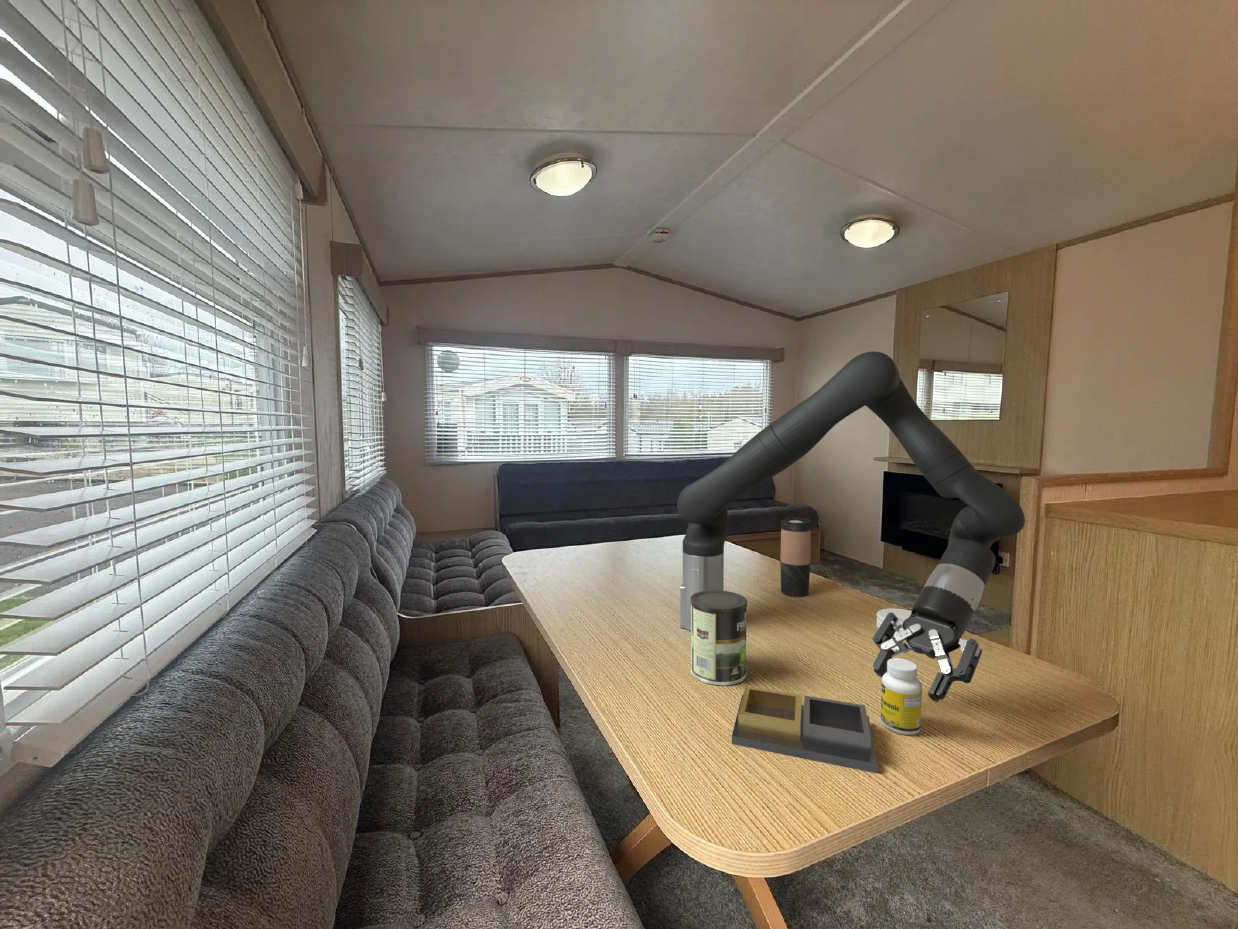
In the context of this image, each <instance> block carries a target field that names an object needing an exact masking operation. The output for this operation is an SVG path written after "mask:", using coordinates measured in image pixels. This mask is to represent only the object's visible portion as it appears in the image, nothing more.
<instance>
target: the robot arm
mask: <svg viewBox="0 0 1238 929" xmlns="http://www.w3.org/2000/svg"><path fill="white" fill-rule="evenodd" d="M863 407H867V408H868V410H870V411H871V412H872V413H874V414H875V415H876V416H877V417H878V418H879V419H880V420H881V421H882V422H883V424H885V426H887V428H888V429H889V430H890V431H891V432H892V433H893V435H894V437H895V438H896V439H897V441H898V442H899V444H900V445H901V447H902V448H903V450H904V451H905V452H906V454H907V455H908V456H909V458H910V460H911V461H912V462H913V464H914V465H915V466H916V467H917V469H918V470H919V471H920V473H921V474H922V475H923V477H924V478H925V479H926V480H927V482H928V483H929V484H930V485H931V487H933V489H934V490H935V491H936V492H937V494H939V495H940V496H941V497H942V498H944V499H945V498H946V499H953V498H957V499H959V500H960V501H962V502H963V503H964V504H966V507H964V508H963V509H961V510H960V511H959V513H957V515H956V516H955V518H954V520H953V521H952V522H953V523H952V524H951V528H950V533H949V536H948V542H947V548H946V549H945V550H944V552H943V554H942V557H941V558H940V560H939V561H938V563H937V565H936V567H935V568H934V569H933V571H932V572H931V574H930V575H929V576H928V579H927V580H926V583H925V584H924V586H923V588H922V590H921V591H920V594H919V595H918V597H917V599H916V601H915V603H914V605H913V607H912V609H911V611H912V612H911V615H910V617H909V618H907V619H906V620H903V619H901V618H898V617H896V616H895V614H894V613H892V612H890V613H888V614H887V616H886V618H885V619H884V621H883V622H882V624H881V626H880V627H879V629H878V628H877V630H876V631H875V633H874V635H873V637H872V641H873V643H874V644H875V645H876V647H877V648H878V649H879V651H878V654H877V656H876V658H875V659H874V661H873V664H872V668H873V672H874V673H875V674H876V675H877V676H878V677H880V678H882V677H883V675H884V674H885V673H887V672H888V671H887V661H888V660H889V659H892V658H893V657H895V656H897V655H899V654H903V653H904V654H906V653H908V652H911V651H913V652H914V653H917V654H919V655H920V654H921V655H924V656H926V657H928V658H930V659H933V660H935V659H937V662H938V665H939V667H940V670H941V672H937V673H936V675H935V677H934V680H933V682H932V683H931V686H930V687H929V690H928V691H927V695H928V697H929V698H930V700H932V701H933V702H936V703H938V702H939V701H940V700H941V701H943V700H944V699H945V698H946V697H947V694H948V692H949V690H950V689H951V686H952V684H953V683H954V682H962V683H964V684H970V683H971V682H972V681H973V678H974V675H975V672H976V670H977V666H978V664H979V661H980V659H981V656H982V653H983V649H982V648H981V646H980V645H979V642H978V641H977V640H976V639H975V638H970V639H969V638H968V639H964V638H962V636H963V635H964V634H965V632H966V630H967V628H968V626H969V624H970V622H971V619H972V618H973V616H974V614H975V612H976V610H977V609H978V607H979V604H980V601H981V599H982V596H983V592H984V590H985V587H986V585H987V583H988V582H989V579H990V577H991V574H992V573H993V570H994V567H995V564H996V557H995V554H994V553H993V551H992V550H991V546H993V544H994V543H995V542H997V541H1000V540H1004V539H1006V538H1010V537H1013V536H1015V535H1017V534H1018V533H1020V532H1021V531H1022V530H1023V529H1024V527H1025V521H1026V516H1025V513H1024V510H1023V508H1022V507H1021V505H1020V504H1019V502H1018V501H1017V500H1016V499H1015V498H1014V497H1013V496H1012V495H1011V494H1010V493H1008V492H1007V491H1006V490H1004V489H1003V488H1002V487H1001V486H999V485H998V484H996V483H995V482H994V481H992V480H991V479H989V478H988V477H986V476H985V475H983V474H982V473H980V472H979V471H978V470H977V468H975V467H974V465H973V464H972V463H971V462H970V461H969V460H968V458H967V457H966V456H965V455H964V454H963V453H962V452H961V450H960V449H959V448H958V447H957V445H956V444H955V443H954V442H953V441H952V440H951V439H950V438H949V437H948V436H947V435H946V434H945V433H944V432H943V431H942V430H941V429H940V428H939V427H938V426H937V425H936V424H935V423H934V422H933V421H932V420H931V419H930V418H929V417H928V416H927V415H926V414H925V412H924V411H923V410H922V409H921V408H920V407H919V405H918V404H917V403H916V402H915V400H914V398H913V396H911V394H910V392H909V391H908V389H907V387H906V385H905V384H904V382H903V379H902V378H901V375H900V371H899V368H898V365H896V363H895V361H894V359H893V358H892V357H891V356H889V355H888V354H886V353H884V352H881V351H867V352H863V353H860V354H858V355H856V356H854V357H853V358H851V359H850V360H849V361H848V362H847V363H846V364H845V365H844V366H843V367H842V368H841V369H839V370H838V371H837V372H836V373H835V374H834V375H833V376H832V377H831V378H829V380H827V381H826V382H825V383H824V384H823V385H822V386H821V387H820V388H819V389H818V390H816V391H815V392H814V393H813V394H811V395H810V396H809V397H807V398H806V399H804V400H802V401H801V402H799V403H798V404H797V405H794V406H793V407H792V408H790V409H789V410H788V411H786V412H785V413H784V414H782V415H781V416H779V417H778V418H777V419H775V420H774V421H772V422H771V423H769V425H767V426H765V427H764V428H763V429H762V430H760V431H759V432H757V434H755V435H754V436H753V437H751V439H749V440H748V441H747V442H745V444H743V445H742V446H740V448H738V449H737V450H736V451H735V452H734V453H733V454H732V455H731V456H730V457H729V458H728V459H726V460H725V461H724V462H723V463H722V464H721V465H719V466H718V467H716V468H715V469H714V470H712V471H711V472H709V473H707V474H705V475H704V476H702V477H700V478H699V479H697V480H695V481H694V482H692V483H690V484H688V485H686V486H685V487H684V488H683V489H682V490H681V492H680V494H679V495H678V499H677V501H676V502H677V503H676V504H677V505H676V506H677V507H676V508H677V511H678V514H679V516H680V518H682V519H683V520H684V521H685V522H687V530H686V533H685V535H684V537H683V539H682V584H681V585H680V588H679V589H680V590H679V594H680V595H679V596H680V597H679V598H680V599H679V603H680V604H679V605H680V606H679V607H680V608H679V610H680V611H679V612H680V613H679V614H680V615H679V618H680V620H679V628H682V629H686V630H687V631H690V632H691V602H690V597H691V596H692V595H693V594H695V593H697V592H701V591H709V590H721V591H725V590H724V589H725V588H724V586H725V585H724V584H725V583H724V582H725V580H724V579H725V578H724V574H725V567H724V566H725V559H724V558H725V543H726V539H727V533H728V532H727V531H728V505H729V503H731V502H732V501H733V500H734V499H736V498H738V496H740V495H741V494H743V493H745V492H747V491H748V490H751V488H753V487H756V486H758V485H760V484H762V483H764V482H766V481H768V480H769V479H771V478H773V477H774V476H777V475H778V474H780V473H781V472H784V471H785V470H786V469H788V468H789V467H790V466H792V465H793V464H795V463H796V462H798V461H799V460H801V459H802V458H803V457H804V456H805V455H806V454H808V453H809V452H810V451H811V450H812V449H813V448H814V447H816V446H817V444H819V443H820V441H821V440H822V439H823V438H824V437H825V436H826V435H827V434H828V432H830V430H832V429H833V428H834V427H835V426H836V425H837V424H839V423H840V422H841V421H842V420H845V419H846V418H847V417H849V416H850V415H852V414H854V413H855V412H856V411H858V410H860V409H863ZM900 628H903V629H904V631H902V632H900V633H898V634H896V635H894V634H895V632H896V631H899V630H900ZM893 635H894V636H893ZM905 641H906V642H905ZM959 648H960V651H961V653H962V654H961V657H960V658H959V662H958V664H957V666H956V667H954V664H953V662H952V658H951V656H950V653H952V652H954V651H955V650H958V649H959Z"/></svg>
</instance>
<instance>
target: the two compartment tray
mask: <svg viewBox="0 0 1238 929" xmlns="http://www.w3.org/2000/svg"><path fill="white" fill-rule="evenodd" d="M744 686H745V687H744V689H743V694H742V695H741V698H740V702H739V706H738V709H737V714H736V718H735V722H734V725H733V729H732V733H731V744H732V745H736V746H741V747H747V748H753V749H755V750H756V749H757V750H761V751H762V750H763V751H765V752H771V753H778V754H783V755H786V756H791V757H796V758H800V759H801V758H802V759H806V760H811V761H817V762H821V763H827V764H831V765H835V766H841V767H846V768H850V769H855V770H861V771H865V772H871V773H877V774H878V771H879V770H878V769H879V764H878V757H877V752H876V749H875V742H874V737H873V732H872V727H871V722H870V721H871V720H870V717H869V715H868V713H867V709H866V705H865V704H861V703H860V704H859V703H854V702H853V703H852V702H846V701H840V700H835V699H829V698H822V697H815V696H810V695H803V696H804V697H802V694H799V693H797V694H796V693H793V692H786V691H779V690H773V689H767V688H762V687H761V688H760V687H755V686H748V685H744ZM802 698H804V699H802ZM802 700H803V704H802Z"/></svg>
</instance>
